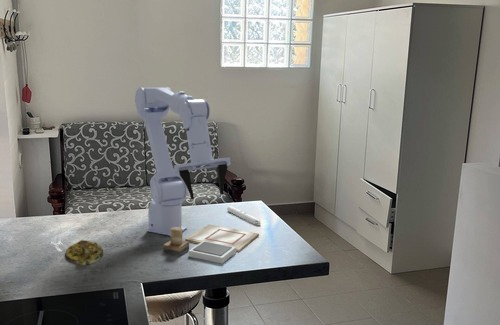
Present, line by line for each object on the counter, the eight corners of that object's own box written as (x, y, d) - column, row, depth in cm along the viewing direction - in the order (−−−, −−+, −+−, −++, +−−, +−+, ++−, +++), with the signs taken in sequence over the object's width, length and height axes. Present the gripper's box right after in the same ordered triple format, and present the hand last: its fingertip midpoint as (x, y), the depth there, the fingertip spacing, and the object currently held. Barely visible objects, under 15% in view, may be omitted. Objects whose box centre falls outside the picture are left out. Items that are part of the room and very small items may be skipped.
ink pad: (188, 256, 129) (188, 249, 129) (203, 246, 137) (203, 240, 136) (222, 263, 125) (222, 256, 125) (235, 252, 133) (235, 246, 132)
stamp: (163, 252, 132) (163, 230, 131) (173, 246, 136) (173, 224, 135) (179, 255, 130) (179, 233, 129) (189, 249, 134) (189, 227, 133)
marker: (263, 226, 155) (263, 219, 154) (257, 227, 154) (258, 220, 153) (232, 211, 169) (232, 204, 169) (226, 212, 168) (227, 205, 167)
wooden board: (185, 240, 140) (185, 238, 140) (208, 226, 152) (208, 223, 152) (238, 251, 133) (239, 249, 133) (258, 235, 146) (258, 233, 146)
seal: (63, 250, 134) (70, 272, 121) (60, 235, 133) (67, 254, 120) (98, 242, 138) (108, 262, 125) (95, 227, 137) (105, 245, 123)
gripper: (171, 147, 122) (179, 201, 121) (228, 139, 125) (236, 192, 124) (171, 150, 129) (179, 201, 128) (225, 142, 132) (233, 192, 131)
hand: (207, 196), depth 127 cm, fingers open, 7 cm apart
